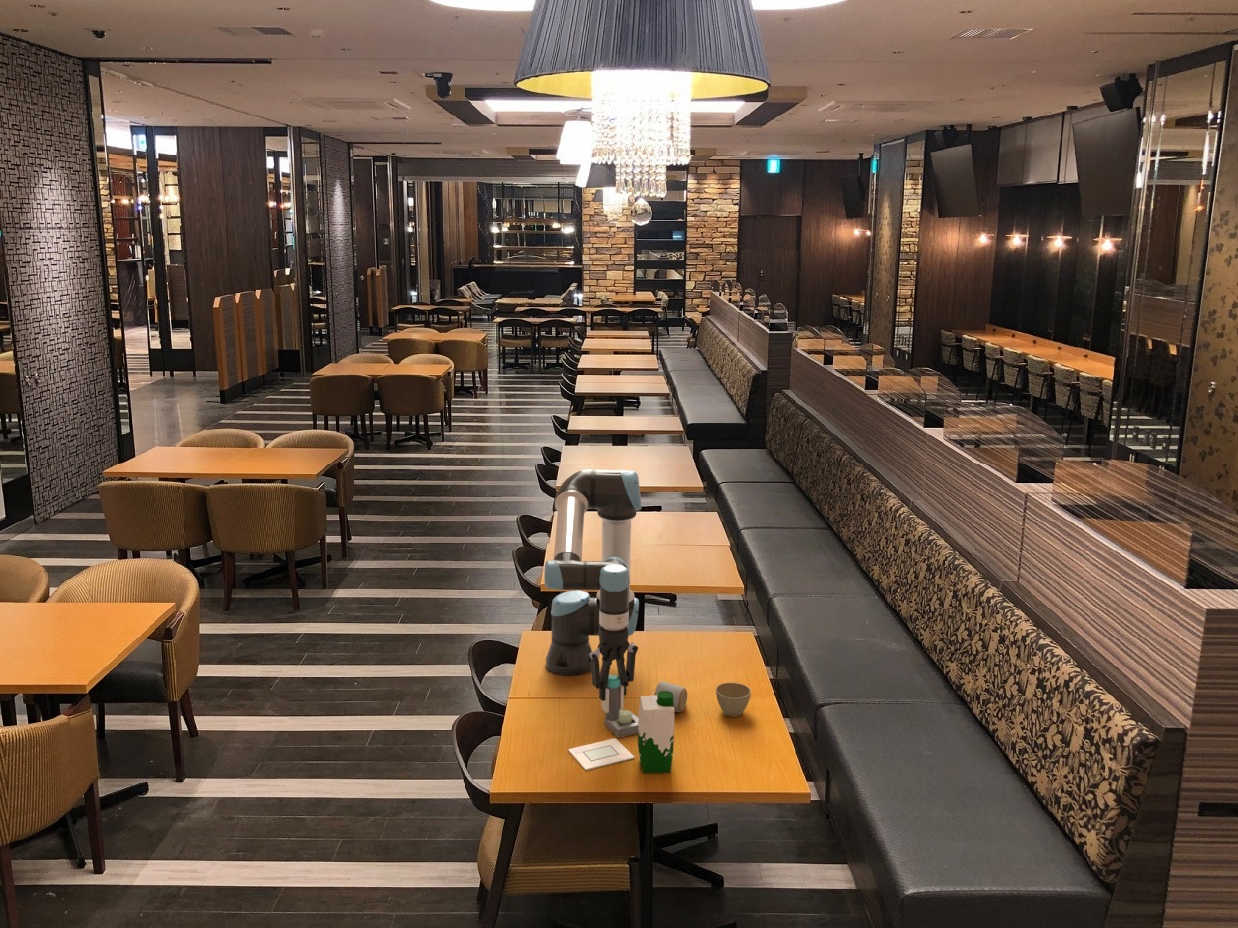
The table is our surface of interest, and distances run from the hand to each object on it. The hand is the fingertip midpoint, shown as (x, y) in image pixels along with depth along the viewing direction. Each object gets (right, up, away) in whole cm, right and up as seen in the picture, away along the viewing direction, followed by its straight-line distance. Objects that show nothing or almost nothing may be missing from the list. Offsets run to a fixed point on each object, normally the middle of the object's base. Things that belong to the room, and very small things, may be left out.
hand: (612, 708), depth 273 cm
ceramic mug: (+17, -6, +28) cm, 33 cm away
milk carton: (+11, -14, -4) cm, 18 cm away
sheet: (-3, -12, +1) cm, 13 cm away
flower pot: (+34, -7, +25) cm, 43 cm away
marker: (0, -3, +1) cm, 3 cm away
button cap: (+3, -7, +15) cm, 17 cm away
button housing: (+3, -9, +15) cm, 18 cm away
